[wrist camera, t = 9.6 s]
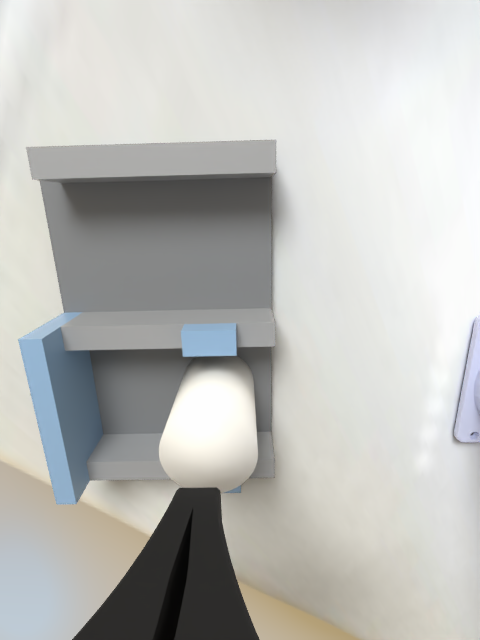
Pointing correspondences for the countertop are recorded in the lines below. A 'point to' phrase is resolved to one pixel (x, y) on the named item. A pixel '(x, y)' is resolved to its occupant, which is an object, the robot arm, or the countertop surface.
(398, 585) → the countertop surface
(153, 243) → the grey and blue rack
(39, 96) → the countertop surface
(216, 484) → the white rounded cylinder
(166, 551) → the robot arm
